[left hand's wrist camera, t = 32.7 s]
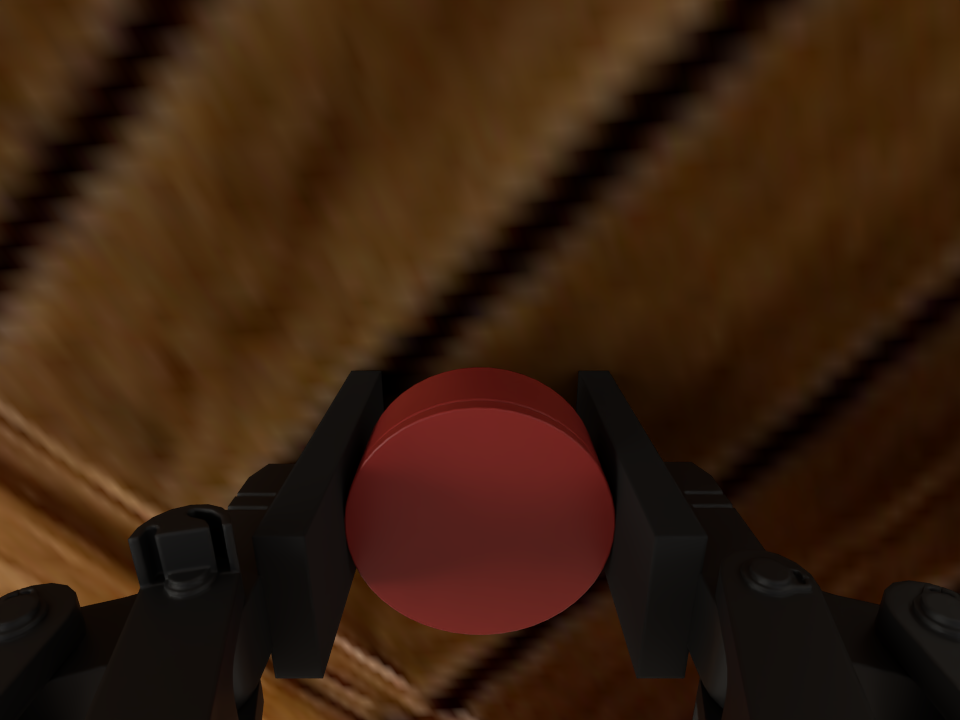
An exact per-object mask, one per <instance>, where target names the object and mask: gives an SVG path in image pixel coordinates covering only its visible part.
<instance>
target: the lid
mask: <svg viewBox="0 0 960 720" xmlns="http://www.w3.org/2000/svg"><path fill="white" fill-rule="evenodd" d="M344 522H345V534H346V540H347V544H348V549H349V552H350V554H351V557H352V559H353V562H354V564H355V566H356V568H357V569H358V571H359V573H360V575H361V576H362V578H363V579H364V580H365V582H366V583H367V584H368V586H369V587H370V588H371V589H372V590H373V591H374V592H375V593H376V594H377V595H378V596H379V597H380V598H381V599H382V600H383V601H384V602H386V603H387V604H388V605H389V606H391V607H392V608H393V609H395V610H396V611H398V612H400V613H401V614H403V615H405V616H406V617H408V618H410V619H412V620H415V621H417V622H419V623H421V624H424V625H427V626H430V627H433V628H436V629H439V630H444V631H448V632H453V633H461V634H474V635H488V634H500V633H506V632H511V631H517V630H520V629H524V628H527V627H531V626H534V625H536V624H538V623H541V622H543V621H546V620H548V619H550V618H551V617H553V616H555V615H557V614H559V613H561V612H562V611H564V610H565V609H566V608H568V607H569V606H571V605H572V604H573V603H575V602H576V601H577V600H578V599H579V598H580V597H581V596H582V595H583V594H584V593H585V592H586V591H587V590H588V589H589V588H590V587H591V585H592V584H593V583H594V582H595V580H596V579H597V577H598V576H599V574H600V573H601V571H602V570H603V568H604V566H605V563H606V561H607V559H608V557H609V554H610V551H611V547H612V544H613V541H614V532H615V507H614V501H613V496H612V493H611V490H610V487H609V485H608V482H607V479H606V477H605V474H604V472H603V469H602V466H601V464H600V461H599V459H598V456H597V453H596V451H595V448H594V446H593V443H592V441H591V438H590V436H589V433H588V431H587V429H586V427H585V425H584V423H583V421H582V420H581V418H580V417H579V416H578V414H577V413H576V411H575V410H574V409H573V408H572V407H571V406H570V404H569V403H568V402H567V401H566V400H565V399H564V398H563V397H561V396H560V395H559V394H557V393H556V392H555V391H554V390H552V389H551V388H549V387H548V386H546V385H544V384H542V383H541V382H539V381H537V380H535V379H532V378H530V377H528V376H525V375H523V374H519V373H516V372H512V371H508V370H503V369H496V368H479V367H474V368H464V369H457V370H452V371H448V372H443V373H440V374H438V375H435V376H432V377H429V378H427V379H425V380H423V381H421V382H419V383H417V384H415V385H414V386H412V387H411V388H409V389H408V390H406V391H405V392H404V393H402V394H401V395H400V396H399V397H398V398H397V399H395V400H394V401H393V402H392V403H391V404H390V405H389V407H388V408H387V409H386V410H385V411H384V413H383V414H382V415H381V417H380V418H379V420H378V422H377V423H376V425H375V426H374V429H373V431H372V433H371V436H370V438H369V440H368V443H367V446H366V448H365V451H364V453H363V456H362V458H361V461H360V464H359V466H358V469H357V471H356V474H355V476H354V479H353V481H352V484H351V487H350V489H349V493H348V497H347V501H346V505H345V516H344Z"/></svg>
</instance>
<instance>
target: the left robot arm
mask: <svg viewBox="0 0 960 720" xmlns="http://www.w3.org/2000/svg"><path fill="white" fill-rule="evenodd" d="M383 413H384V405H383V390H382V375H381V371H351V372H350V374H349V376H348V377H347V379H346V381H345V382H344V384H343V386H342V387H341V389H340V391H339V392H338V394H337V396H336V397H335V399H334V401H333V402H332V404H331V406H330V407H329V409H328V411H327V412H326V414H325V416H324V417H323V419H322V421H321V422H320V424H319V426H318V427H317V429H316V431H315V432H314V434H313V436H312V437H311V439H310V441H309V442H308V444H307V446H306V447H305V449H304V451H303V452H302V454H301V456H300V457H299V459H298V461H297V462H296V464H268V465H267V466H265V467H264V468H262V469H261V470H259V471H258V472H256V473H255V474H253V475H252V476H250V477H249V478H248V480H247V481H246V482H245V484H244V485H243V487H242V488H241V489H240V491H239V492H238V495H237V497H235V498H234V499H233V500H232V502H231V503H230V505H229V506H228V510H224V509H223V508H222V507H218V506H213V505H209V504H203V505H188V506H184V507H180V508H175V509H171V510H169V511H167V512H164V513H162V514H160V515H157V516H155V517H153V518H151V519H150V520H148V521H147V522H145V523H144V524H142V525H141V526H139V527H138V528H137V529H136V530H135V531H134V533H133V534H132V535H131V536H130V538H129V539H128V542H129V546H130V549H131V553H132V557H133V561H134V565H135V569H136V572H137V576H138V580H139V584H140V590H139V592H138V594H135V595H131V596H128V597H124V598H120V599H115V600H111V601H106V602H102V603H97V604H93V605H88V606H84V607H80V604H79V601H78V598H77V595H76V592H75V591H73V590H72V589H71V588H70V587H69V586H67V585H62V584H55V583H48V584H41V585H33V586H29V587H26V588H22V589H20V590H16V591H13V592H11V593H8V594H6V595H4V596H2V597H0V720H262V713H263V704H264V699H263V692H262V686H261V680H260V678H261V676H262V673H263V671H264V669H265V666H266V664H267V662H268V659H269V657H270V654H272V660H273V666H274V672H275V678H323V676H324V673H325V670H326V666H327V663H328V660H329V656H330V653H331V650H332V646H333V643H334V640H335V637H336V633H337V630H338V627H339V623H340V620H341V617H342V613H343V610H344V607H345V603H346V600H347V597H348V594H349V590H350V587H351V584H352V580H353V577H354V574H355V570H356V566H355V564H354V562H353V559H352V557H351V554H350V552H349V549H348V544H347V540H346V534H345V522H344V516H345V505H346V501H347V497H348V493H349V489H350V487H351V484H352V481H353V479H354V476H355V474H356V471H357V469H358V466H359V464H360V461H361V458H362V456H363V453H364V451H365V448H366V446H367V443H368V440H369V438H370V436H371V433H372V431H373V429H374V426H375V425H376V423H377V422H378V420H379V418H380V417H381V415H382V414H383ZM576 413H577V414H578V416H579V417H580V418H581V420H582V421H583V423H584V425H585V427H586V429H587V431H588V433H589V436H590V438H591V441H592V443H593V446H594V448H595V451H596V453H597V456H598V459H599V461H600V464H601V466H602V469H603V472H604V474H605V477H606V479H607V482H608V485H609V487H610V490H611V493H612V496H613V501H614V507H615V532H614V541H613V544H612V547H611V551H610V554H609V557H608V559H607V561H606V563H605V566H604V571H605V574H606V577H607V581H608V584H609V587H610V590H611V594H612V597H613V600H614V604H615V607H616V610H617V614H618V617H619V620H620V624H621V627H622V630H623V634H624V637H625V640H626V644H627V647H628V650H629V653H630V657H631V660H632V663H633V667H634V670H635V673H636V677H637V678H684V677H685V671H686V665H687V659H688V653H689V652H690V654H691V657H692V659H693V661H694V664H695V666H696V669H697V671H698V673H699V676H700V680H699V686H698V691H697V697H696V702H695V708H694V713H693V718H692V720H960V595H959V594H957V593H956V592H954V591H951V590H949V589H946V588H943V587H939V586H937V585H933V584H930V583H924V582H916V581H902V582H895V583H892V584H891V585H890V586H889V587H888V588H887V589H885V591H884V594H883V597H882V600H881V604H880V605H878V604H874V603H869V602H865V601H860V600H856V599H851V598H847V597H842V596H838V595H834V594H830V593H827V592H823V591H821V589H820V587H819V585H818V584H817V583H816V581H815V580H814V578H813V577H812V575H811V574H810V573H808V572H807V571H806V570H805V569H803V568H802V567H801V566H799V565H798V564H797V563H795V562H793V561H791V560H789V559H787V558H785V557H783V556H781V555H779V554H775V553H771V552H768V551H765V549H764V548H763V546H762V545H761V544H760V542H759V541H758V540H757V538H756V537H755V535H754V534H753V533H752V531H751V530H750V528H749V527H748V526H747V524H746V523H745V522H744V520H743V519H742V517H741V516H740V515H739V513H738V512H737V511H736V509H735V508H732V504H731V502H730V501H729V500H728V498H727V497H726V495H723V491H722V490H721V488H720V487H719V486H718V484H717V483H716V482H715V480H714V479H713V477H712V476H711V475H710V474H708V473H707V472H705V471H704V470H702V469H701V468H699V467H698V466H696V465H695V464H693V463H692V462H663V461H662V459H661V457H660V456H659V454H658V452H657V451H656V449H655V447H654V446H653V444H652V442H651V441H650V439H649V437H648V436H647V434H646V432H645V431H644V429H643V427H642V426H641V424H640V422H639V421H638V419H637V417H636V416H635V414H634V412H633V411H632V409H631V407H630V406H629V404H628V402H627V401H626V399H625V397H624V396H623V394H622V392H621V391H620V389H619V387H618V386H617V384H616V382H615V381H614V379H613V377H612V376H611V374H610V372H609V371H579V375H578V390H577V405H576Z"/></svg>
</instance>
